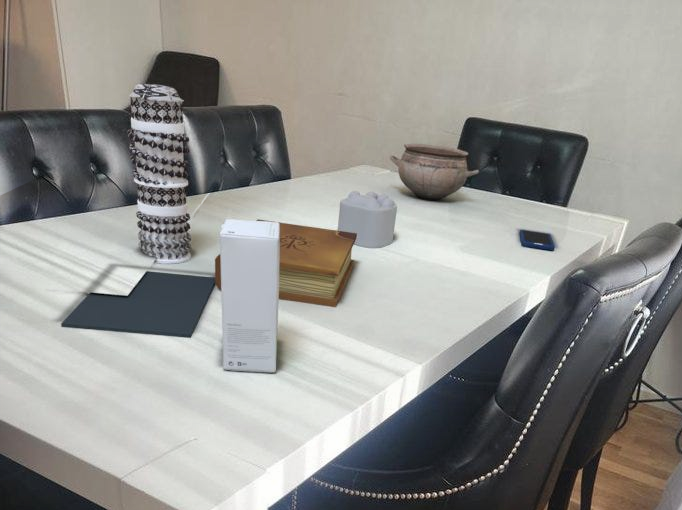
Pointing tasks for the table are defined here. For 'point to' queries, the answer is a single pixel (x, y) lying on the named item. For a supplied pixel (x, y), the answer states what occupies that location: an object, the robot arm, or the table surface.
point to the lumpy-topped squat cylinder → (368, 218)
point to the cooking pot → (432, 170)
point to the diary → (310, 264)
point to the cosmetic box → (250, 294)
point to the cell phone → (536, 240)
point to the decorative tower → (160, 172)
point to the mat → (147, 306)
